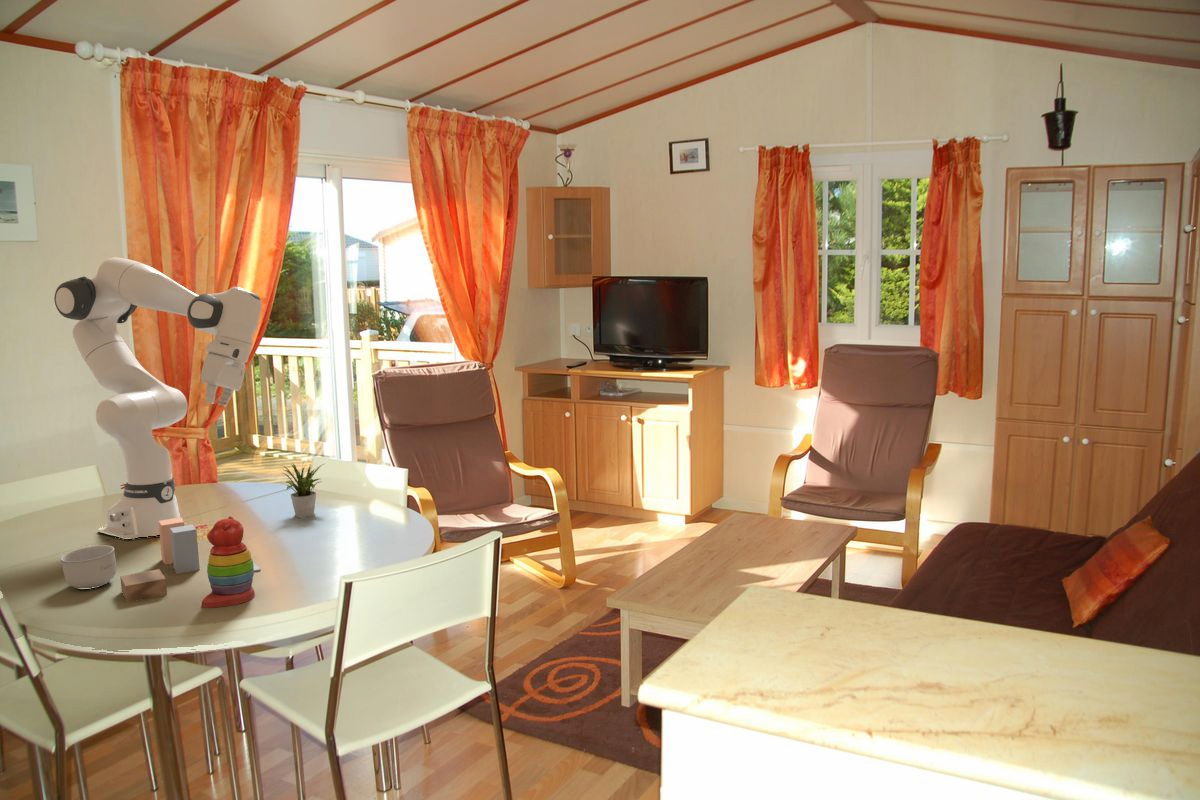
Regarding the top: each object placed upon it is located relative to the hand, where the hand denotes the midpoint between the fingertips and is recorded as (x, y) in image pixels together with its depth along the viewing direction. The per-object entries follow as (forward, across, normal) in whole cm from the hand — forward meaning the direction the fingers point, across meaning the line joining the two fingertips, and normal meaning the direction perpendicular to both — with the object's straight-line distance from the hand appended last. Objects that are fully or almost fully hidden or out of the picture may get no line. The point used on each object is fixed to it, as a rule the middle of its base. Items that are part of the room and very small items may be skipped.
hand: (215, 404), depth 232 cm
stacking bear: (+40, +28, +24) cm, 54 cm away
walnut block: (+44, +22, +4) cm, 50 cm away
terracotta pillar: (+40, -1, 0) cm, 40 cm away
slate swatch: (+36, +9, +20) cm, 42 cm away
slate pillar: (+40, +6, +6) cm, 41 cm away
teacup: (+46, +14, -11) cm, 50 cm away
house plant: (+26, -38, +19) cm, 50 cm away
